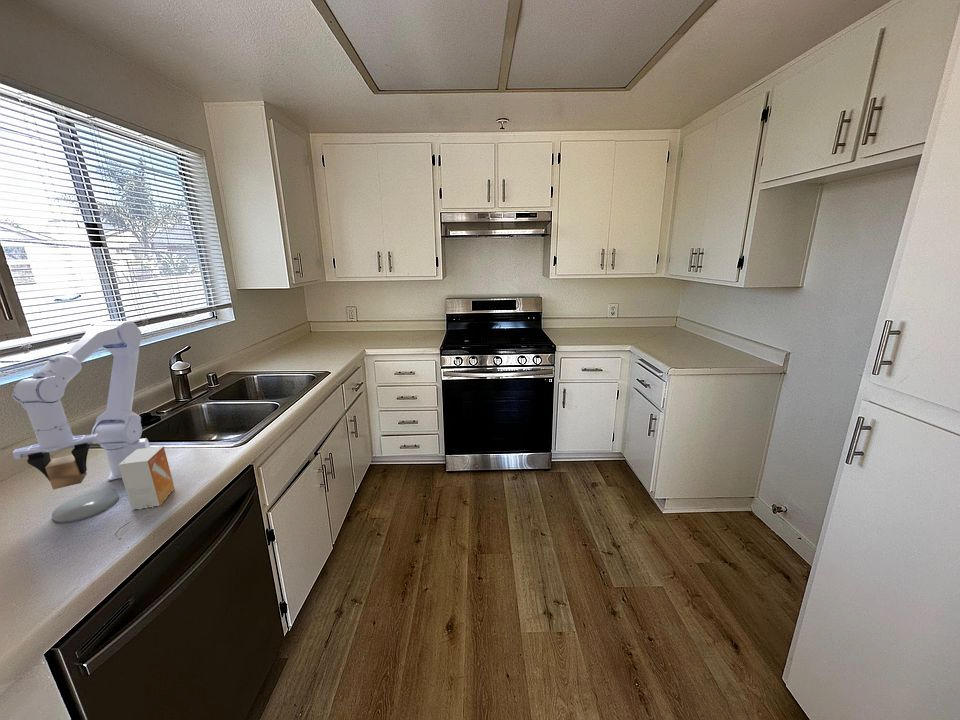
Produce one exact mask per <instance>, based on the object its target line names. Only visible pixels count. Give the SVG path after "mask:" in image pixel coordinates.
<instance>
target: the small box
mask: <svg viewBox="0 0 960 720" xmlns="http://www.w3.org/2000/svg"><path fill="white" fill-rule="evenodd" d="M118 466H119V470H120V473H121V476H122V478H121V479H122V482H123V485H124V489H125V493H126V496H127V499H128V503H129V505H130V509H131V511H135V510H134V509H139V510H142V509H141V508H146V507H152V508H154V507H153V506H158V507H160V506H159V505H161V506H162V504H163V503H164V502H165V501H166V499H167V498H168V497H169V496H170V495H169V493H172V492H173V491H174V490H175V489H174V488H175V485H174V482H173V481H174V480H173V477H172V473H171V470H170V465H169V461H168V457H167V454H166V450H165V446H163V445H162V446H154V447H153V446H152V447H150V448H143V449H136V450H135V451H134V452H133V453H132V454H130V455H129V456H128V457H126V458H125V459H124V460H123V461H122V462H121V463H120V464H119V465H118ZM173 489H174V490H173ZM172 490H173V491H172ZM171 491H172V492H171ZM168 495H169V496H168ZM167 496H168V497H167ZM166 497H167V498H166ZM165 498H166V499H165ZM164 500H165V501H164ZM163 501H164V502H163ZM162 502H163V503H162ZM161 503H162V504H161ZM146 509H147V508H146Z"/></svg>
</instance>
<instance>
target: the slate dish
mask: <svg viewBox="0 0 960 720" xmlns="http://www.w3.org/2000/svg"><path fill="white" fill-rule="evenodd" d="M119 498H120V496H119V493H118V491H117V490H116V489H112V488H104V489H98V490H93V491H90V492H86V493H83V494H80V495H77V496H75V497H73V498H70V499H69V500H66V501H65V502H63V503H61V504H60V505H58V506H57V507H56V508H55V509H54V510H53V511H52V513H51V516H52V520H53V521H54V522H56V523H61V524H62V523H65V524H66V523H72V522H74V523H75V522H77V521H81V520H85V519H87V518H90V517H93V516H96V515H98V514H100V513H102V512H104V511H106V510H107V508H108V509H110V508H111V507H112V506H114V505H115V504H116V503H117V502H118V500H119ZM110 506H111V507H110ZM105 509H106V510H105Z"/></svg>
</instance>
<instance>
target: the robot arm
mask: <svg viewBox="0 0 960 720" xmlns="http://www.w3.org/2000/svg"><path fill="white" fill-rule="evenodd" d="M141 337H142V331H141V329H140V328H139V327H138V325H137V324H136V323H135V322H133V321H131V320H125V321H94V322H92V323H91V324H89V326H88V327H87V326H86V328H85V329H84V335H82V337H81V338H80V339H79V340H78V341H77V342H76V343H75V344H74V345H73V346H72V347H71V349H69V350H68V351H67V353H66V354H64V355H63V354H61V355H60V354H59V355H56V356H51V357H49V358H48V362H46V364H44V366H42V367H41V368H40V369H39V370H38V371H37V370H36V371H35V372H34V373H33V375H31V377H30V378H24V379H21V380H20V381H18V382H17V383H16V384H15V385H14V386H13V391H12V392H13V393H12V394H11V397H12V398H13V400H14V401H15V402H17V403H18V404H20V405H21V407H22V409H23V410H25V411H26V413H27V416H28V418H29V422H30V424H31V428H32V429H33V432H34V436H35V437H36V440H37V443H36V444H32V445H28V446H25V447H24V446H23V447H21V448H15V449H14V450H13V451H12V456H13V458H14V460H21V459H22V458H25V457H28V458H27V461H26V462H27V464H28V465H30V466H32V467H34V468H36V469H37V470H38V471H39V472H41V474H43V475H44V476H45V478H47V480H48V481H49V482H50V480H49V477H48V474H47V472H46V469H45V467H46V466H47V465H48V464H49V462H50V461H51V460H52V458H51V454H50V453H52V452H57V451H60V450H65V449H71V448H73V449H72V450H71V455H73V456H74V458H75V460H76V462H77V464H78V468H79V471H80V473H81V474H84V473H85V472H86V473H87V471H88V470H87V469H88V468H87V459H88V453H89V450H90V446H91V444H92V445H95V444H98V445H100V448H103V449H104V453H105V455H106V459H107V461H108V465H109V468H110V473H109V476H108V478H107V480H108V481H109V482H110V481H113V480H117V479H122V476H121V473H120V470H119V466H118V465H119V464H120V463H121V462H122V461H123V460H124V459H125V458H126V457H128V456H129V455H130V454H132V453H133V452H134V451H135V450H136V449H143V448H151V445H150V442H149V440H148V438H147V437H145V438H144V437H143V438H141V437H142V433H143V427H142V423H141V422H142V417H141V416H140V415H139V414H137V413H136V412H134V411H133V410H132V409H133V403H134V394H135V387H136V380H137V372H138V364H139V356H140V346H141ZM100 348H101V349H103V351H106V352H107V353H110V354H111V355H112V356H113V361H112V367H111V368H112V369H111V375H110V380H109V381H110V382H109V389H108V395H107V405H106V410H104V412H102V413H101V414H99V415H98V416H97V417H96V419H95V423H94V425H93V427H92V429H91V432H90V433H91V434H86V435H85V434H83V435H73V433H72V430H71V427H70V424H69V421H68V419H67V418H68V417H67V415H66V413H65V409H64V406H63V404H62V400H61V399H62V398H64V397H63V396H64V395H65V391H66V388H67V386H68V383H70V381H72V380H73V378H75V377H76V376H77V375H78V374H79V373H80V372H81V371H82V369H83V367H82V363H83V362H84V361H86V360H87V359H88V358H89V357H90V356H92V355H93V354H94V353H95V352H97V350H99V349H100Z"/></svg>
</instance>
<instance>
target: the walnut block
mask: <svg viewBox="0 0 960 720" xmlns="http://www.w3.org/2000/svg"><path fill="white" fill-rule="evenodd" d="M45 469H46V472H47V474H48V477H49V480H50V481H49V480H48V481H49V483H50V486H51V487H52V490H57V489H61V488H62V489H63V488H66V487H70V486H75V485H78V484H79V485H80V484H82V482H83V481H84V479H85V477H86V476H87V475H88V473H87V471H86V472H85V473H84V474H81V473H80V471H79V468H78V464H77V462H76V460H75V458H74V456H73V455H72V454H69V455H65V456H59V457H56V458H55V457H54V458H51V461H50V462H49V464H48V465H47V466H46V467H45Z"/></svg>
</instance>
